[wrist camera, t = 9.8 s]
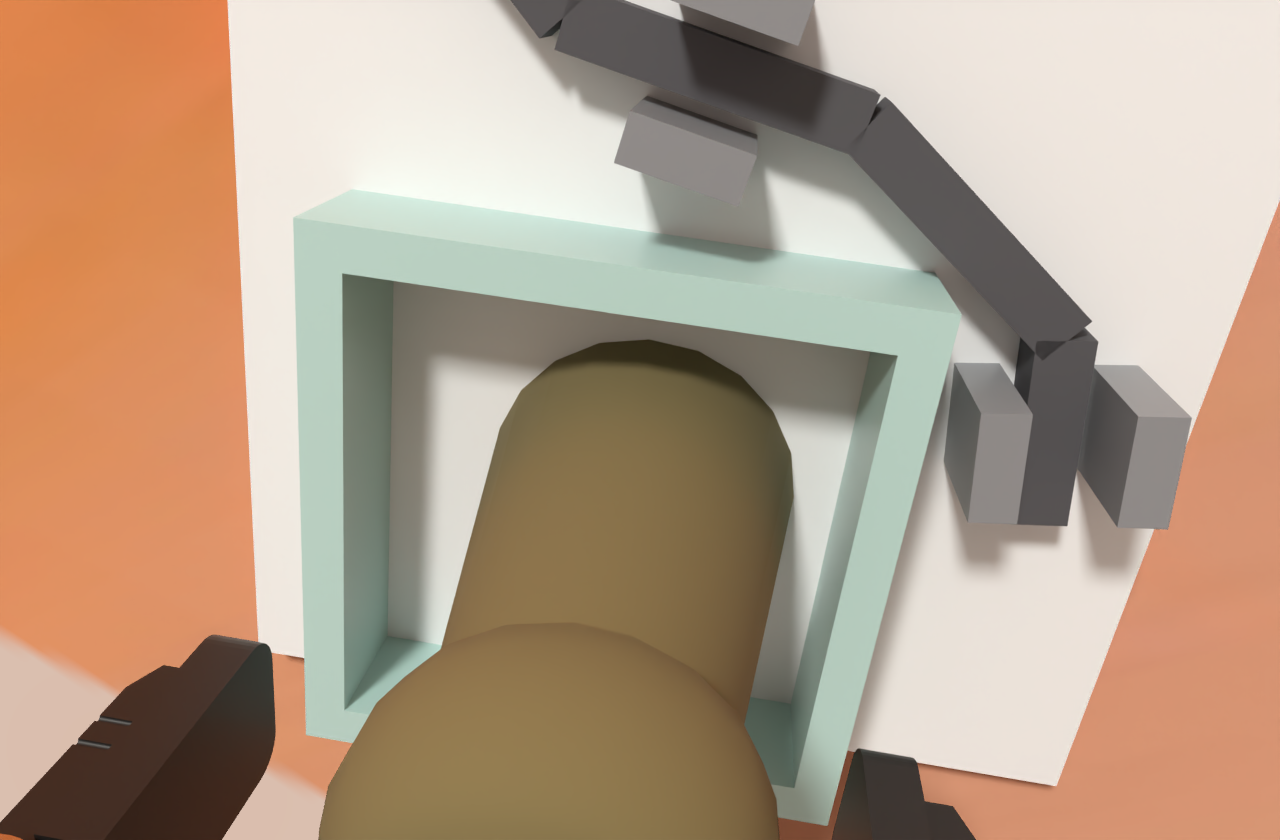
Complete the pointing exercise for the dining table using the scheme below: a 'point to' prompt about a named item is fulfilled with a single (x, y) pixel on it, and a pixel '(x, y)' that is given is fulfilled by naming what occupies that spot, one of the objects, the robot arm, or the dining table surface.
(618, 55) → the routed cable
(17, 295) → the dining table surface
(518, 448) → the cork
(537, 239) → the mint green square frame
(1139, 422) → the board
